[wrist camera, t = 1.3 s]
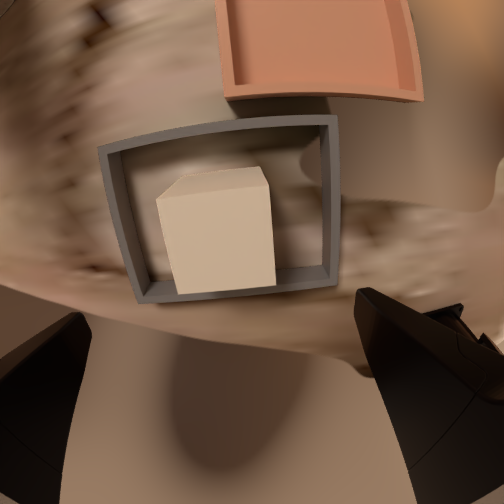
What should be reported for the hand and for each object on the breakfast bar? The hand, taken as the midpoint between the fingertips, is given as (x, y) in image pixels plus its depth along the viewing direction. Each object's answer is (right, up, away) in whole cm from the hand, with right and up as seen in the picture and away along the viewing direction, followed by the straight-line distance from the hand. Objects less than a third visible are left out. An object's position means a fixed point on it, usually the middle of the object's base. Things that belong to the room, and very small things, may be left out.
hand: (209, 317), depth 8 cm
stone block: (-1, +5, +10) cm, 11 cm away
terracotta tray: (+5, +17, +4) cm, 19 cm away
